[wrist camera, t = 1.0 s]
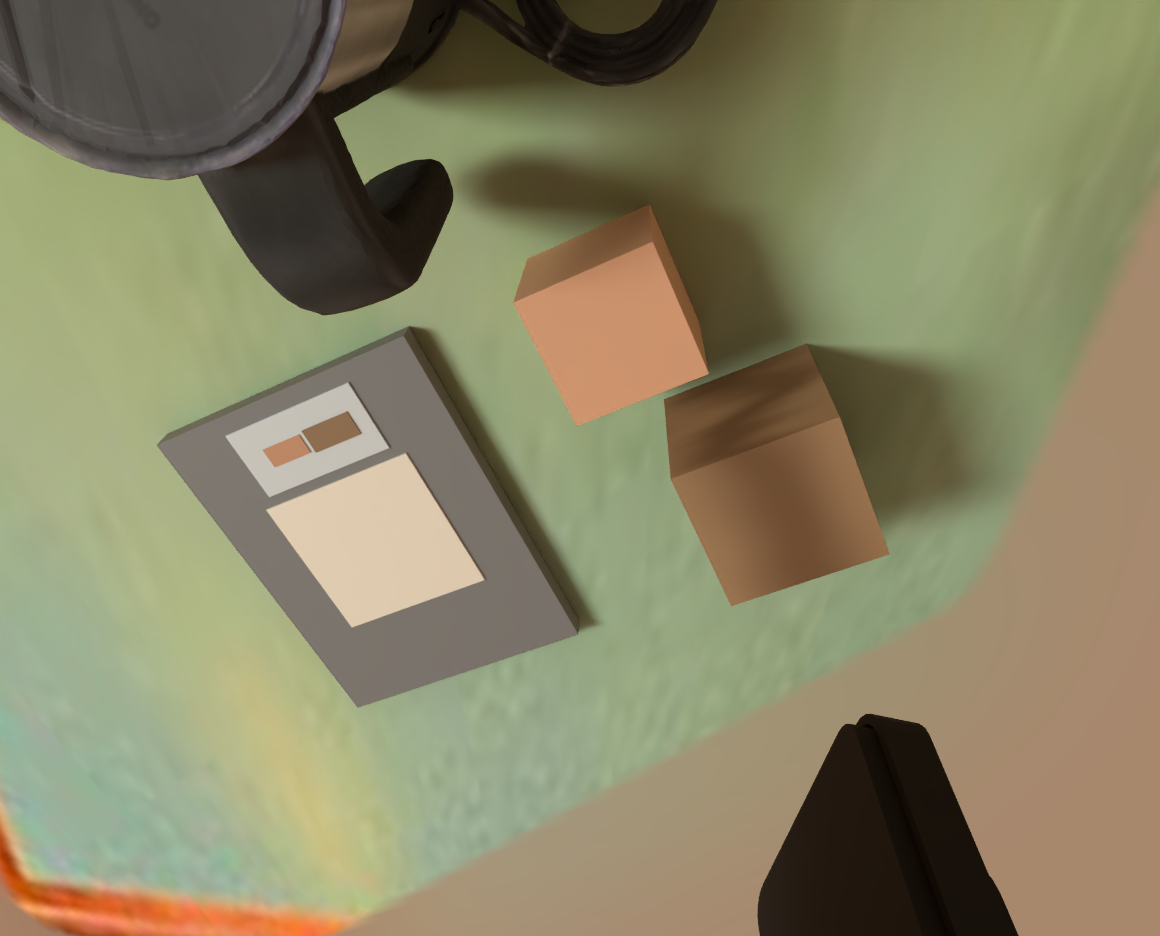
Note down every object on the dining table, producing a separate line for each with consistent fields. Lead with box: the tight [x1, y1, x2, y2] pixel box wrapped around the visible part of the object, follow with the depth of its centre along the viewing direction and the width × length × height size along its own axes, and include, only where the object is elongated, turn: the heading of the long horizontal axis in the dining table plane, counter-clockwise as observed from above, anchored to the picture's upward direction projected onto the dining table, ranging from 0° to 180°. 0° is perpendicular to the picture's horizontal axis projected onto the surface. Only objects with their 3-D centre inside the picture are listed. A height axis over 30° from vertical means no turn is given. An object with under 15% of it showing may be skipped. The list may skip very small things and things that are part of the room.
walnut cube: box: [664, 344, 889, 606], centre depth 35 cm, size 6×6×6 cm
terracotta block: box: [513, 204, 709, 426], centre depth 33 cm, size 5×5×5 cm
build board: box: [157, 327, 579, 707], centre depth 41 cm, size 12×16×1 cm
